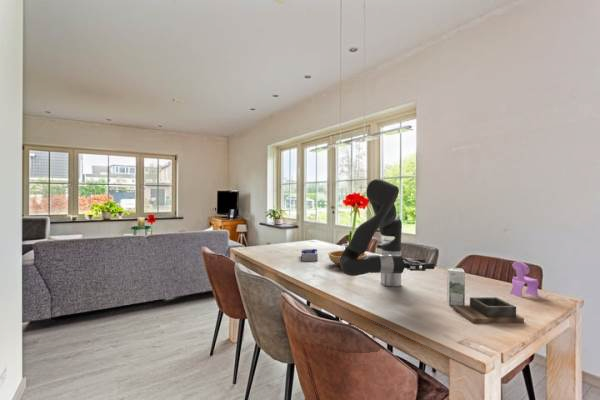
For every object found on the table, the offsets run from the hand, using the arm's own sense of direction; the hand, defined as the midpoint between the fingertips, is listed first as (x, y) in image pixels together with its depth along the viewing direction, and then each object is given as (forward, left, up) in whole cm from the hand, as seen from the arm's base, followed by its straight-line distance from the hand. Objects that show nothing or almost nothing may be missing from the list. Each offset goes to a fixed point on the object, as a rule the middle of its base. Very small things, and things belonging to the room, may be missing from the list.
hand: (429, 263), depth 123 cm
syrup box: (+11, 0, -17) cm, 20 cm away
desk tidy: (-44, +94, -17) cm, 105 cm away
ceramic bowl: (-21, +69, -17) cm, 74 cm away
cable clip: (-44, +94, -17) cm, 105 cm away
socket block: (+16, -12, -17) cm, 26 cm away
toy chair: (+48, +11, -17) cm, 52 cm away
